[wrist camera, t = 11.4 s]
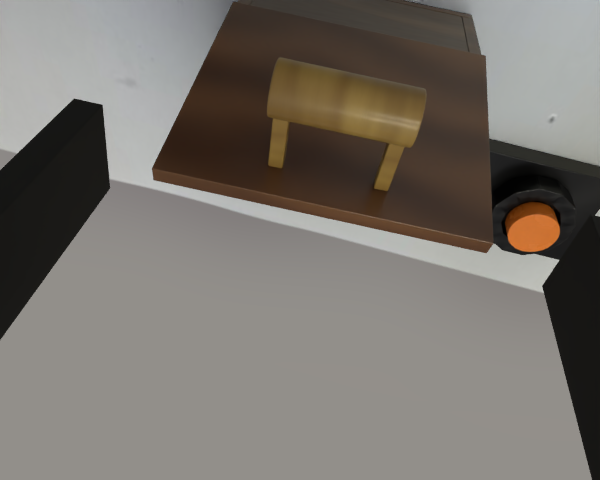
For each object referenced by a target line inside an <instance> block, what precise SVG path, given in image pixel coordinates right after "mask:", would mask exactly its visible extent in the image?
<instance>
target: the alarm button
mask: <svg viewBox="0 0 600 480" xmlns="http://www.w3.org/2000/svg"><path fill="white" fill-rule="evenodd" d="M505 227H506V232H507V237H508V240H509V242H510V244H511V245H512V246H513V247H514V248H516V249H518V250H521V251H525V252H536V251H540V250H543V249H546V248H548V247H550V246H551V245H552V244H554V243H555V241H556V240H557V239H558V237H559V234H560V226H559V223H558V220H557V217H556V214H555V212H554V210H553V209H552V208H551V207H550V206H548V205H546V204H544V203H540V202H527V203H523V204H521V205H518V206H516V207H515V208H513V209H512V210H511V211H510V212H509V213H508V215H507V217H506V220H505Z"/></svg>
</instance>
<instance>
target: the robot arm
mask: <svg viewBox="0 0 600 480" xmlns="http://www.w3.org/2000/svg"><path fill="white" fill-rule="evenodd" d="M109 189H110V183H109V172H108V161H107V150H106V139H105V128H104V116H103V105H100V104H96V103H92V102H87V101H83V100H78V99H73V100H72V101H71V102H70V103H69V104H68V105H67V106H66V107H65V108H64V109H63V110H62V111H61V112H60V113H59V114H58V115H57V116H56V117H55V118H54V119H53V120H52V121H51V122H50V123H49V124H47V125H46V126H45V127H44V128H43V129H42V130H41V131H40V132H39V133H38V134H37V135H36V136H35V137H34V138H33V139H32V140H31V141H30V142H29V143H28V144H27V145H26V146H25V147H24V148H23V149H22V150H21V151H20V152H19V153H18V154H17V155H15V156H14V158H12V159H11V160H10V161H9V162H8V163H7V164H6V165H5V166H4V167H3V168H2V169H1V170H0V339H1V338H2V337H3V335H4V334H5V333H6V331H7V330H8V328H9V327H10V326H11V324H12V323H13V321H14V320H15V319H16V317H17V316H18V315H19V313H20V312H21V310H22V309H23V308H24V306H25V305H26V304H27V302H28V301H29V299H30V298H31V297H32V295H33V294H34V292H35V291H36V290H37V288H38V287H39V286H40V284H41V283H42V281H43V280H44V279H45V277H46V276H47V274H48V273H49V272H50V270H51V269H52V267H53V266H54V265H55V263H56V262H57V261H58V259H59V258H60V256H61V255H62V254H63V252H64V251H65V250H66V248H67V247H68V245H69V244H70V243H71V241H72V240H73V239H74V237H75V236H76V234H77V233H78V232H79V230H80V229H81V227H82V226H83V225H84V223H85V222H86V221H87V219H88V218H89V216H90V215H91V213H92V212H93V211H94V209H95V208H96V207H97V205H98V204H99V202H100V201H101V200H102V198H103V197H104V196H105V194H106V193H107V191H108V190H109ZM542 287H543V291H544V295H545V298H546V302H547V306H548V310H549V314H550V318H551V322H552V326H553V329H554V333H555V337H556V341H557V345H558V349H559V353H560V356H561V361H562V364H563V368H564V372H565V376H566V380H567V384H568V387H569V391H570V395H571V399H572V403H573V407H574V411H575V414H576V418H577V422H578V426H579V430H580V434H581V438H582V442H583V446H584V450H585V454H586V458H587V461H588V465H589V469H590V473H591V477H592V480H600V217H598V216H594V215H590V216H589V217H588V219H587V220H586V222H585V223H584V225H583V226H582V228H581V229H580V231H579V232H578V234H577V235H576V237H575V238H574V240H573V241H572V243H571V244H570V246H569V247H568V249H567V250H566V252H565V253H564V255H563V256H562V257H561V259H560V260H559V262H558V263H557V265H556V266H555V268H554V269H553V271H552V272H551V274H550V275H549V277H548V278H547V280H546V281H545V283H544V284H543V286H542Z"/></svg>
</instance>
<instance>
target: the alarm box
mask: <svg viewBox="0 0 600 480" xmlns="http://www.w3.org/2000/svg"><path fill="white" fill-rule="evenodd" d="M489 149H490V173H491V197H492V221H493V243H494V244H496V245H497V246H498V247H500V248H501V249H502V250H504V251H508V252H512V253H516V254H520V255H526V254H538V255H542V256H546V257H550V258H554V259H559V260H560V259H561V257H562V256H563V255H564V253H565V252H566V250H567V249H568V247H569V246H570V244H571V243H572V241H573V240H574V238H575V237H576V235H577V234H578V232H579V231H580V229H581V228H582V226H583V225H584V223H585V222H586V220H587V219H588V217H589V216H590V215H594V216H595V214H596V213H597V212H598V210H599V209H600V167H598V166H594V165H590V164H586V163H582V162H578V161H574V160H570V159H566V158H562V157H558V156H554V155H550V154H547V153H543V152H539V151H535V150H531V149H527V148H523V147H519V146H515V145H511V144H507V143H503V142H499V141H495V140H491V139H489ZM527 202H540V203H544V204H546V205H548V206H550V207H551V208H552V209H553V210H554V212H555V214H556V217H557V220H558V223H559V226H560V234H559V237H558V239H557V240H556V241H555V243H554V244H552V245H551V246H550V247H548V248H546V249H543V250H540V251H536V252H525V251H521V250H518V249H516V248H514V247H513V246H512V245H511V244H510V242H509V240H508V237H507V232H506V227H505V220H506V217H507V215H508V213H509V212H510V211H511V210H512V209H513V208H515V207H516V206H518V205H521V204H523V203H527Z"/></svg>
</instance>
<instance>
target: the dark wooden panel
mask: <svg viewBox="0 0 600 480" xmlns="http://www.w3.org/2000/svg"><path fill="white" fill-rule="evenodd" d="M152 172H153V179H154V180H156V181H160V182H165V183H169V184H174V185H179V186H183V187H188V188H192V189H197V190H201V191H206V192H210V193H215V194H220V195H224V196H229V197H233V198H238V199H242V200H247V201H251V202H256V203H260V204H265V205H270V206H274V207H279V208H283V209H288V210H292V211H297V212H301V213H306V214H311V215H315V216H320V217H324V218H329V219H333V220H338V221H342V222H347V223H351V224H356V225H361V226H365V227H370V228H374V229H379V230H383V231H388V232H392V233H397V234H402V235H406V236H411V237H415V238H420V239H424V240H429V241H433V242H438V243H442V244H447V245H452V246H456V247H461V248H465V249H470V250H474V251H479V252H483V253H487V252H488V250H489V249H490V248H491V246H492V245H493V221H492V197H491V173H490V149H489V126H488V102H487V78H486V56H484V55H480V54H475V53H470V52H466V51H461V50H456V49H452V48H447V47H442V46H438V45H433V44H429V43H424V42H419V41H415V40H410V39H405V38H401V37H396V36H391V35H387V34H382V33H377V32H373V31H368V30H363V29H359V28H354V27H350V26H345V25H340V24H336V23H331V22H326V21H322V20H317V19H312V18H308V17H303V16H298V15H294V14H289V13H285V12H280V11H275V10H271V9H266V8H261V7H257V6H252V5H247V4H243V3H238V2H233V3H232V5H231V7H230V9H229V11H228V13H227V16H226V18H225V20H224V22H223V24H222V26H221V28H220V30H219V32H218V34H217V36H216V38H215V40H214V42H213V44H212V46H211V48H210V50H209V53H208V55H207V57H206V59H205V61H204V63H203V65H202V67H201V69H200V71H199V73H198V75H197V77H196V79H195V81H194V83H193V85H192V87H191V89H190V92H189V94H188V96H187V98H186V100H185V102H184V104H183V106H182V108H181V110H180V112H179V114H178V116H177V118H176V120H175V122H174V124H173V126H172V128H171V131H170V133H169V135H168V137H167V139H166V141H165V143H164V145H163V147H162V149H161V151H160V153H159V155H158V157H157V159H156V161H155V163H154V165H153V167H152Z"/></svg>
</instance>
